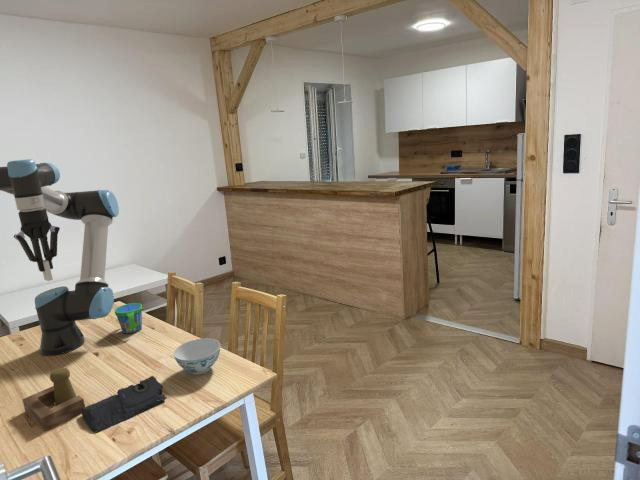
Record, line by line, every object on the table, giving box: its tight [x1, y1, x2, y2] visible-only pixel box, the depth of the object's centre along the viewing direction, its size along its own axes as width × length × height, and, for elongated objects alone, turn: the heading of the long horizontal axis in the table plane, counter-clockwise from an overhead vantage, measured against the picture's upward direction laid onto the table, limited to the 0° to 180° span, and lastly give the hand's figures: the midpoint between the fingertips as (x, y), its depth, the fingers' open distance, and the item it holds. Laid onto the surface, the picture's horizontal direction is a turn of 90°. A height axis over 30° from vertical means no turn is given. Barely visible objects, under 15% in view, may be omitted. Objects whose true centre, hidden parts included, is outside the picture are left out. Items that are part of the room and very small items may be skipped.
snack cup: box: [114, 302, 143, 334], centre depth 183 cm, size 16×10×10 cm
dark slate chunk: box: [80, 375, 168, 434], centre depth 130 cm, size 15×22×5 cm
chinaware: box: [173, 337, 221, 376], centre depth 147 cm, size 15×15×8 cm
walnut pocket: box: [21, 385, 86, 432], centre depth 130 cm, size 11×16×4 cm
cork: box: [49, 367, 77, 407], centre depth 133 cm, size 6×6×11 cm
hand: (48, 279), depth 146 cm, fingers closed
